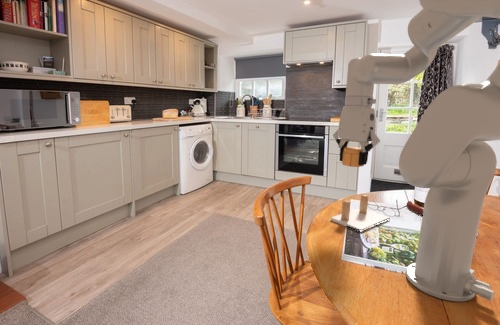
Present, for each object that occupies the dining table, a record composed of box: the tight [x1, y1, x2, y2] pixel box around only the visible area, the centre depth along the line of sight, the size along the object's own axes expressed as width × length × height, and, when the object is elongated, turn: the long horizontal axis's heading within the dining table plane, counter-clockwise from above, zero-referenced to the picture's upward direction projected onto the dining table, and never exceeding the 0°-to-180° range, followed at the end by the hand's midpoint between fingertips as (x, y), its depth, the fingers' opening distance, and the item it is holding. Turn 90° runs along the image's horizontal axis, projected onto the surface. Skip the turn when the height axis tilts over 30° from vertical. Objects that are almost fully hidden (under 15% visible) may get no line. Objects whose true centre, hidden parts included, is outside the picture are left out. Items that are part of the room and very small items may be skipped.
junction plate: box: [330, 194, 390, 230], centre depth 95 cm, size 11×16×7 cm
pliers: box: [406, 200, 424, 216], centre depth 99 cm, size 12×20×3 cm, turn 165°
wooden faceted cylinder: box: [341, 146, 365, 168], centre depth 89 cm, size 6×6×5 cm
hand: (352, 162), depth 90 cm, fingers closed on wooden faceted cylinder, 6 cm apart
